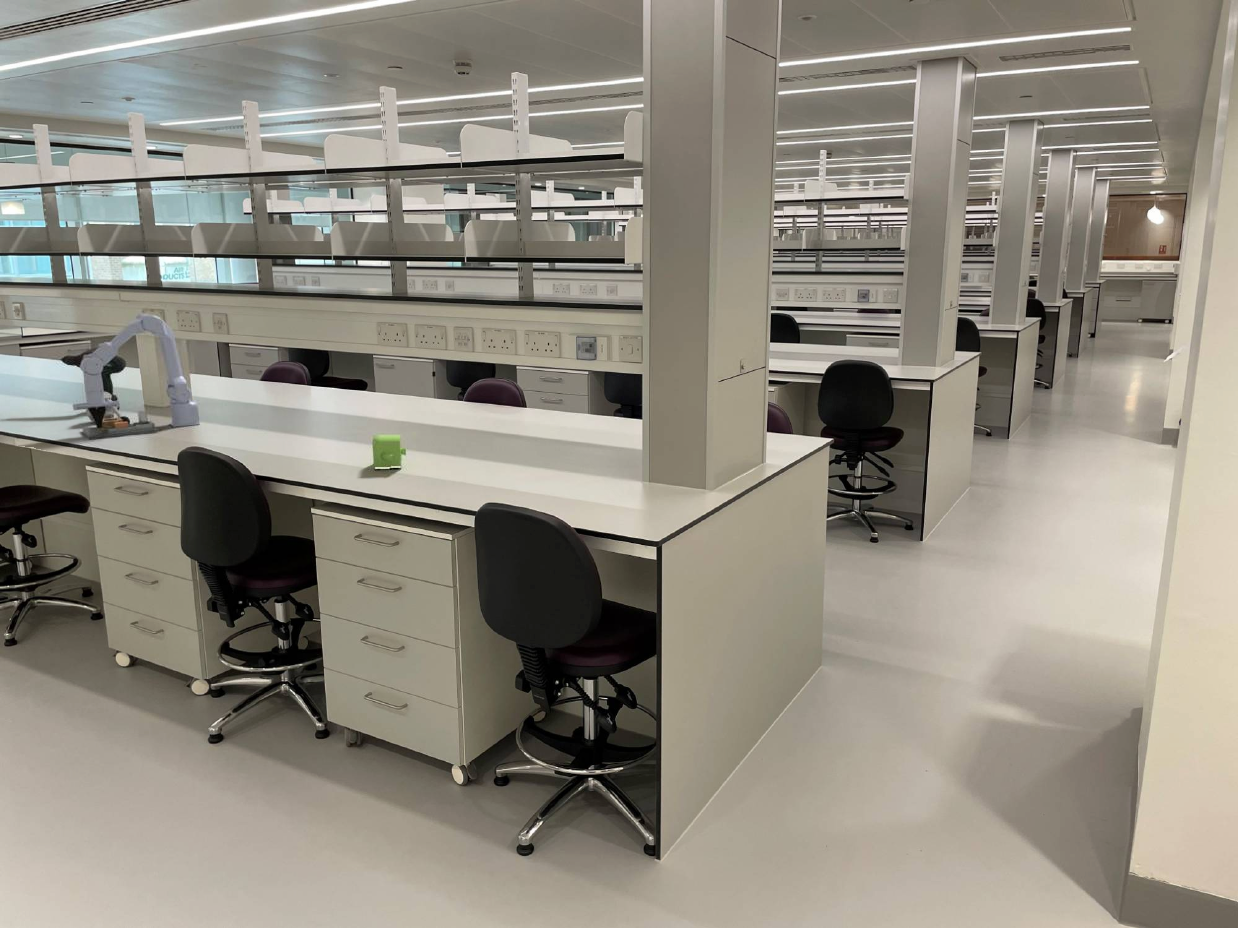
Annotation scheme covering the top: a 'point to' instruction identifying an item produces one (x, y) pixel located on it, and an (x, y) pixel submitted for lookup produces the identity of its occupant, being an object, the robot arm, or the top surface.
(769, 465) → the top surface
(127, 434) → the slate board
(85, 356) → the power drill
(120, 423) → the orange rectangular block
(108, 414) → the mechanical valve
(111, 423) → the frame
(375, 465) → the gearbox
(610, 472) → the top surface
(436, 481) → the top surface
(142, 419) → the cylinder
